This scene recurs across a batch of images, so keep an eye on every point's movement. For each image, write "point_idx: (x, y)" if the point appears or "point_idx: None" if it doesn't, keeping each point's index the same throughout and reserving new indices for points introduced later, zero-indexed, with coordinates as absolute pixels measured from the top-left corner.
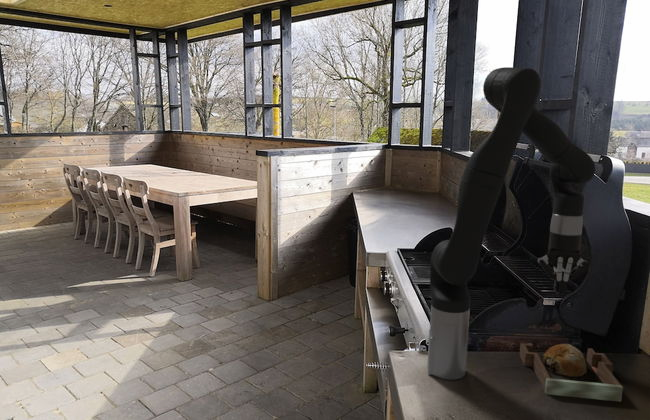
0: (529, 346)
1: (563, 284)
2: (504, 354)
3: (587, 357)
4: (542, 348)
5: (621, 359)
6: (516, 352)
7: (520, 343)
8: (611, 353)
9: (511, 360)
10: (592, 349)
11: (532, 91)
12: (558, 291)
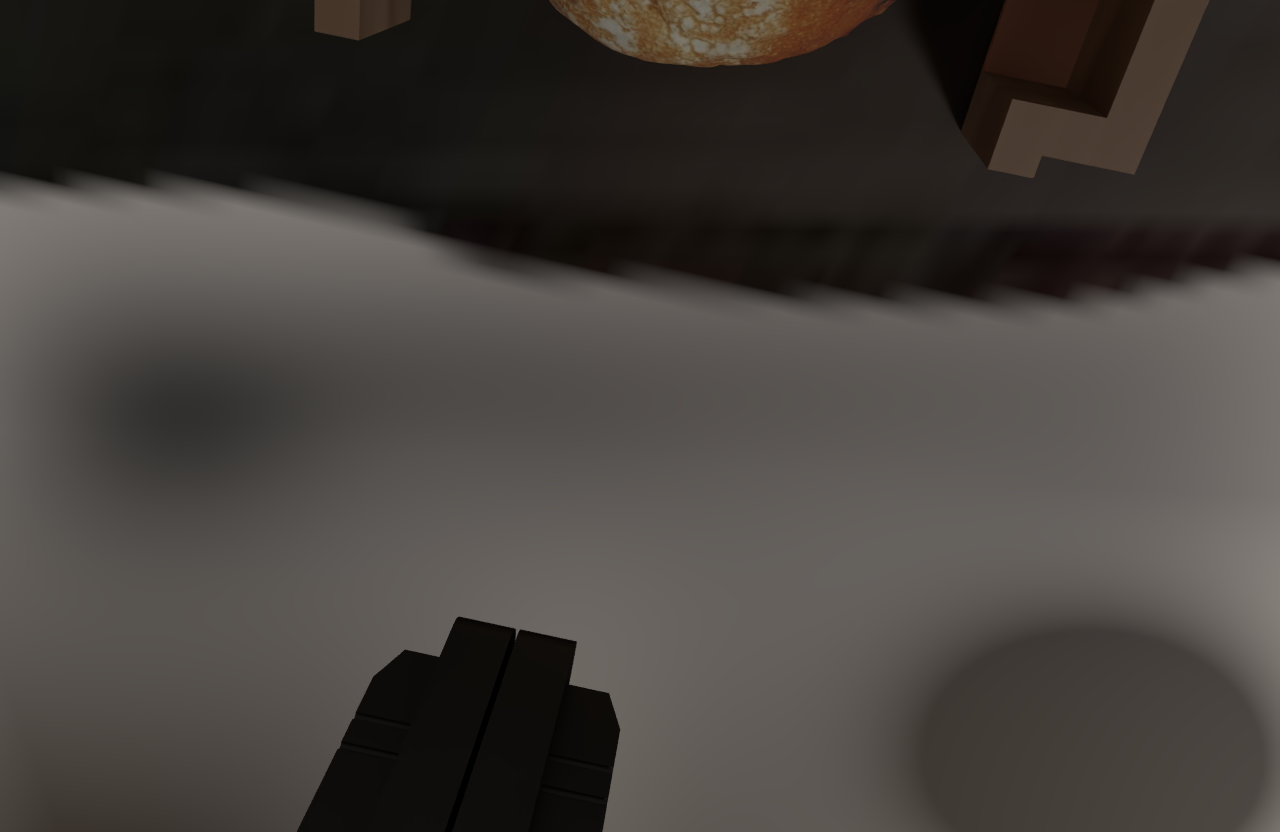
0: (1053, 103)
1: (407, 806)
2: (1249, 158)
3: (397, 6)
4: (746, 286)
5: (57, 48)
6: (1078, 203)
7: (1133, 172)
8: (116, 175)
9: (1263, 9)
10: (319, 1)
11: None
12: (558, 677)
